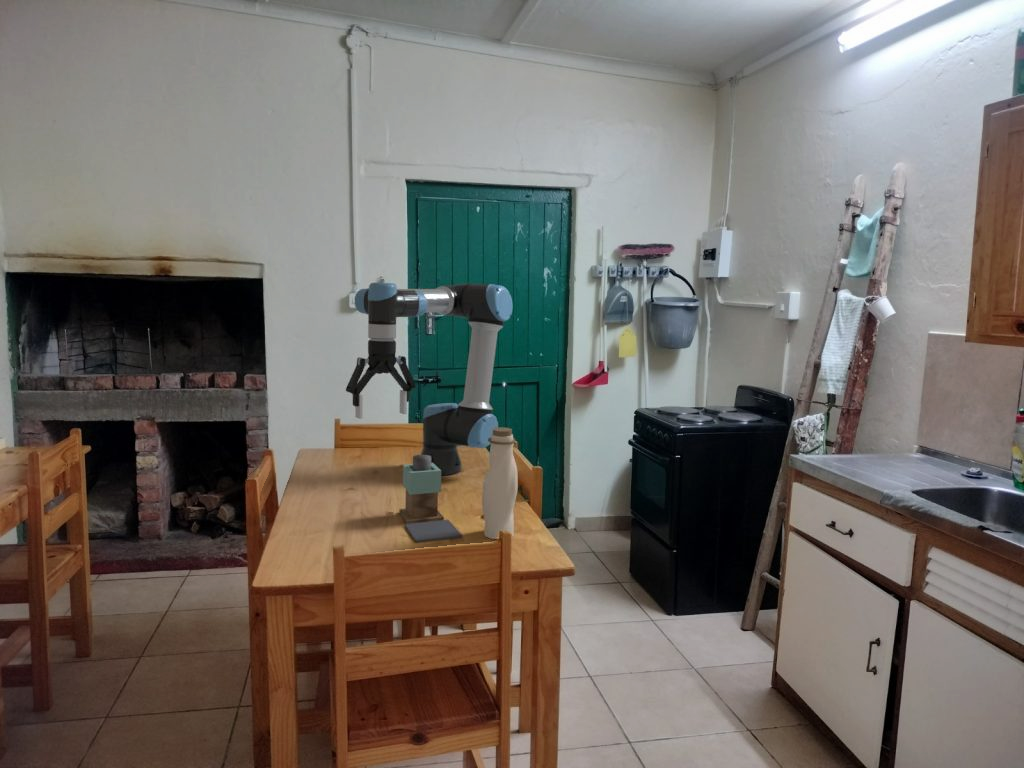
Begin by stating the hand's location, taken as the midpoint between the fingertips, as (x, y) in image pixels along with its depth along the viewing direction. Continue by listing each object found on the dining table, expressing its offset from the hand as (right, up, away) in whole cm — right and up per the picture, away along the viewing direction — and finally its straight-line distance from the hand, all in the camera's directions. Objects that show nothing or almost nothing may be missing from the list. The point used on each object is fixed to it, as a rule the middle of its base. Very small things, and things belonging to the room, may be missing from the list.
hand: (381, 415), depth 189 cm
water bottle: (+33, -30, -11) cm, 46 cm away
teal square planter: (+11, -20, -2) cm, 23 cm away
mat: (+16, -30, -12) cm, 36 cm away
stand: (+11, -28, -1) cm, 30 cm away
